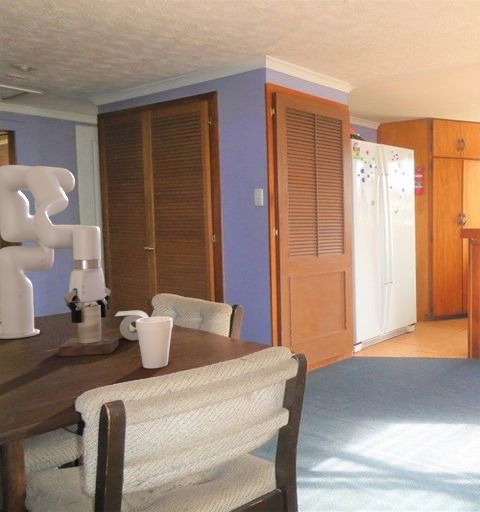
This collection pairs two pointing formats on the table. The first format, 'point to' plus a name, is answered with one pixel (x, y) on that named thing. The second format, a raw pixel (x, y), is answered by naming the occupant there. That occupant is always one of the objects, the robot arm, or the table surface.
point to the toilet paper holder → (126, 326)
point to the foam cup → (154, 340)
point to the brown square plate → (88, 346)
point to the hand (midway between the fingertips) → (89, 319)
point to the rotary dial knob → (90, 324)
